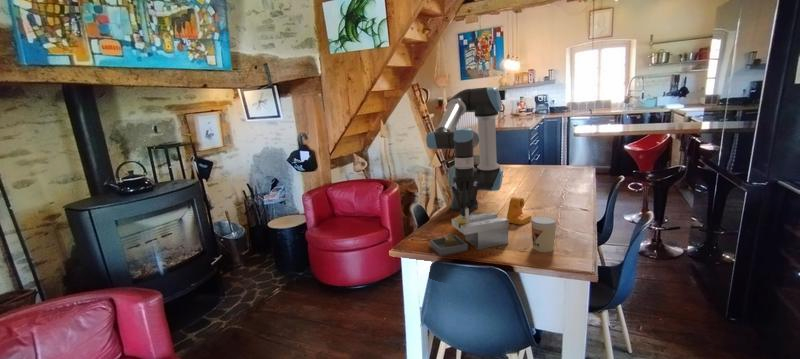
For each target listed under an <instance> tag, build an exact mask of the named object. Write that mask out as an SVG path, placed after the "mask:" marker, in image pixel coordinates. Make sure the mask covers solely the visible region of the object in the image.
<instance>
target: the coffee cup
mask: <svg viewBox="0 0 800 359" xmlns="http://www.w3.org/2000/svg"><path fill="white" fill-rule="evenodd" d="M530 223H531V238H532V239H531V241H532V248H533V250H535V251H536V252H540V253H550V252H553V250H554V247H555V239H556V228H557V227H556V226H557V220H556V219H555V218H553V217H550V216H545V215H544V216H535V217H531V220H530Z"/></svg>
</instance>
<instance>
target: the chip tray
mask: <svg viewBox="0 0 800 359" xmlns="http://www.w3.org/2000/svg"><path fill="white" fill-rule="evenodd" d="M445 237H446V236H445ZM445 237H439V238H433V239H429V245H430V246H429V247H430V248H431V249H432V250H433V251H434V252H436V254H438V256H439V257H443V256H450V255H454V254H459V253H460V254H461V253H465V252H468V251H469V250H468V249H469V248H468V247H469V246H468V243H467V242H466V241H464V240H463V239H462V238H460V237H459V236H458V235H457V234H454V235H449V236H448V237H454V238H455V239H456V244H455V246H452V247H446V246H445V245H444V243H445Z"/></svg>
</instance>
